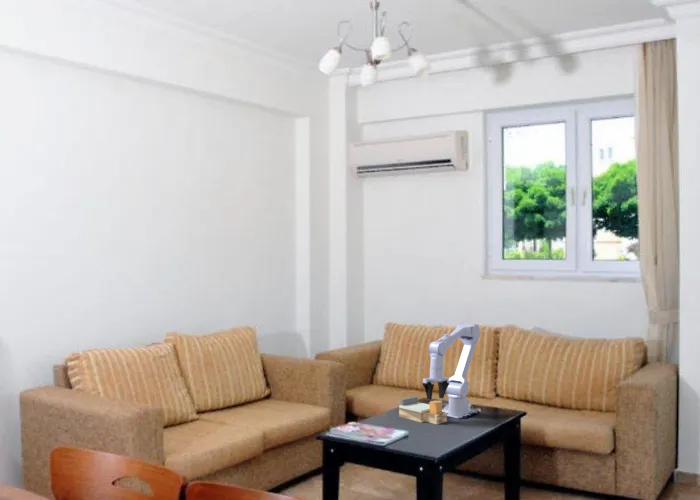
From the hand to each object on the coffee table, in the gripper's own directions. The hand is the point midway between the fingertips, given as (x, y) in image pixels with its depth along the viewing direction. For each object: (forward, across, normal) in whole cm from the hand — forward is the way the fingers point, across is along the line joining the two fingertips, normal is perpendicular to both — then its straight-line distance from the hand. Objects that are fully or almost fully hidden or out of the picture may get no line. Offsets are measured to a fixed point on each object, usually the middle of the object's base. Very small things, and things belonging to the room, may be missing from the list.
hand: (435, 398), depth 332 cm
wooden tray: (+10, +1, +7) cm, 13 cm away
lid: (+6, 0, +11) cm, 12 cm away
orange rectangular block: (+8, +1, 0) cm, 9 cm away
